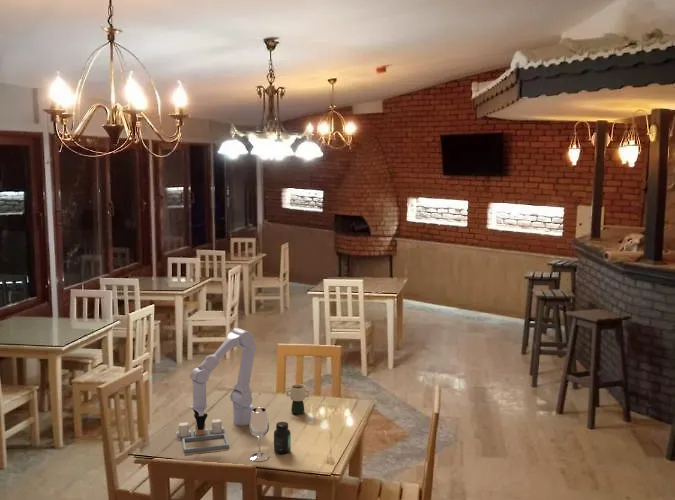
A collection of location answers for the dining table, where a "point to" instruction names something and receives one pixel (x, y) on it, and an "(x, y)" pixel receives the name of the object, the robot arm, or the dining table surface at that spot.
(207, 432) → the block
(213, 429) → the fuse
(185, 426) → the block
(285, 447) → the supplement bottle
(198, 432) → the fuse marked
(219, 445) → the tray
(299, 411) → the character mug
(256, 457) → the wineglass
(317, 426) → the dining table surface
